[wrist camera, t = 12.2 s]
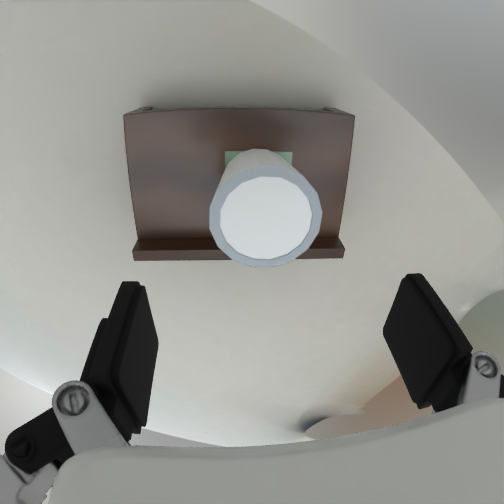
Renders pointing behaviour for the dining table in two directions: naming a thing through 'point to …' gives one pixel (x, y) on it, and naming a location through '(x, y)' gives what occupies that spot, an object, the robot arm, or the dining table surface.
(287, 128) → the shelf
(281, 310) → the dining table surface
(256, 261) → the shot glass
